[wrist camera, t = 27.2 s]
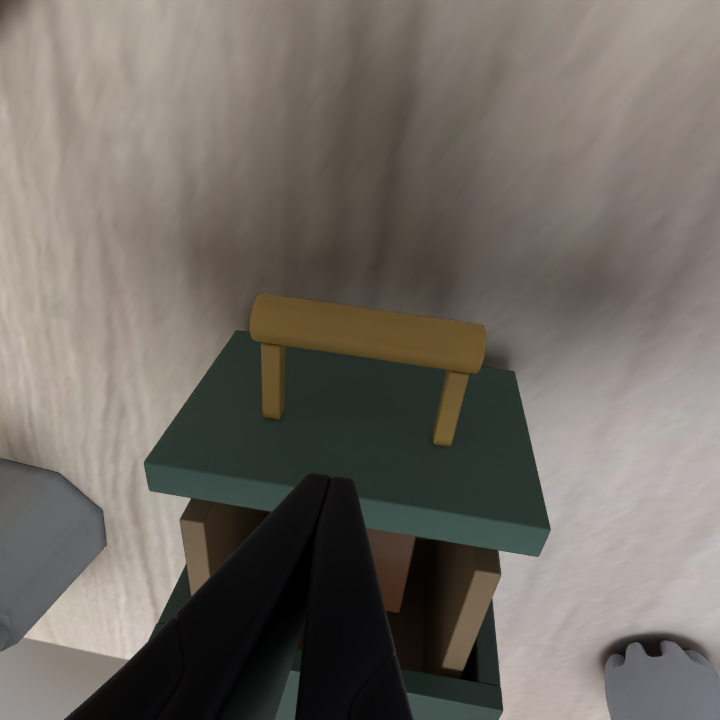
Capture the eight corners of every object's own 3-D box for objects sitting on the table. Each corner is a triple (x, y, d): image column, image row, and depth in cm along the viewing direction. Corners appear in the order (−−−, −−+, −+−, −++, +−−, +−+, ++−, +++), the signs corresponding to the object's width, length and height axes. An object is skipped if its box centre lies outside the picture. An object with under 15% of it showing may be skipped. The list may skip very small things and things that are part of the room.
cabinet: (237, 456, 26) (146, 643, 18) (483, 497, 25) (503, 711, 17) (246, 616, 34) (185, 795, 26) (433, 650, 33) (431, 846, 25)
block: (422, 430, 21) (418, 528, 17) (406, 511, 24) (399, 613, 19) (303, 412, 21) (270, 503, 17) (301, 494, 24) (272, 591, 20)
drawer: (231, 229, 18) (117, 333, 12) (546, 272, 18) (607, 407, 11) (246, 540, 28) (187, 692, 22) (451, 576, 27) (454, 744, 21)
